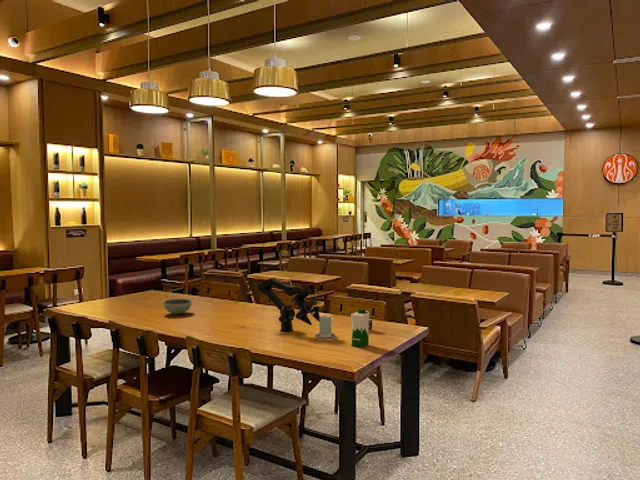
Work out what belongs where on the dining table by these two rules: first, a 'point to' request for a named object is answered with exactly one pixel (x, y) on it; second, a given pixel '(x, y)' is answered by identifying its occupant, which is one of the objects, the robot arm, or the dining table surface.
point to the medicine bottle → (369, 322)
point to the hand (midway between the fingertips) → (316, 323)
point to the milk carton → (360, 328)
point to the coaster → (325, 337)
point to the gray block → (325, 326)
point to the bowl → (177, 306)
